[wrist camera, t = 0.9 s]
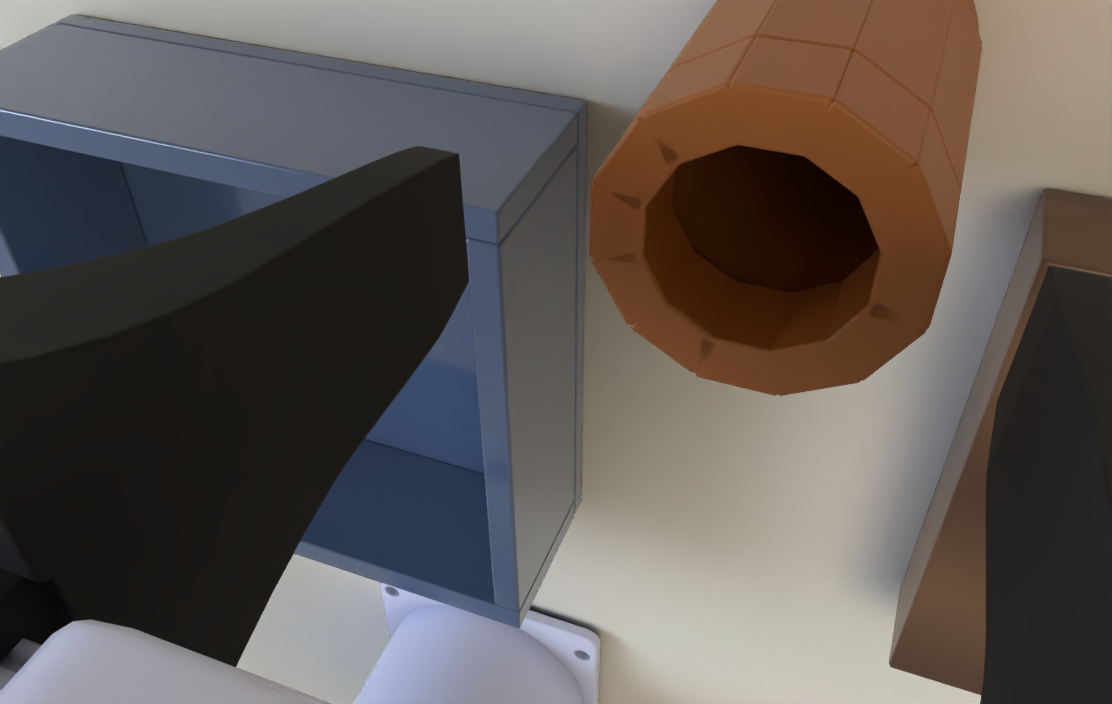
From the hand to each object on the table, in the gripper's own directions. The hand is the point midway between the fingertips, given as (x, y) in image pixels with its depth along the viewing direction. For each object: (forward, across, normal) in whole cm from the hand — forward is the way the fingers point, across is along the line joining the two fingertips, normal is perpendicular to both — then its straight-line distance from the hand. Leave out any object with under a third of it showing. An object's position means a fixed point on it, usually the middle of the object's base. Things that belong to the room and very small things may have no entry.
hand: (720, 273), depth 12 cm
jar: (+8, 0, 0) cm, 8 cm away
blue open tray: (+8, +11, +8) cm, 16 cm away
